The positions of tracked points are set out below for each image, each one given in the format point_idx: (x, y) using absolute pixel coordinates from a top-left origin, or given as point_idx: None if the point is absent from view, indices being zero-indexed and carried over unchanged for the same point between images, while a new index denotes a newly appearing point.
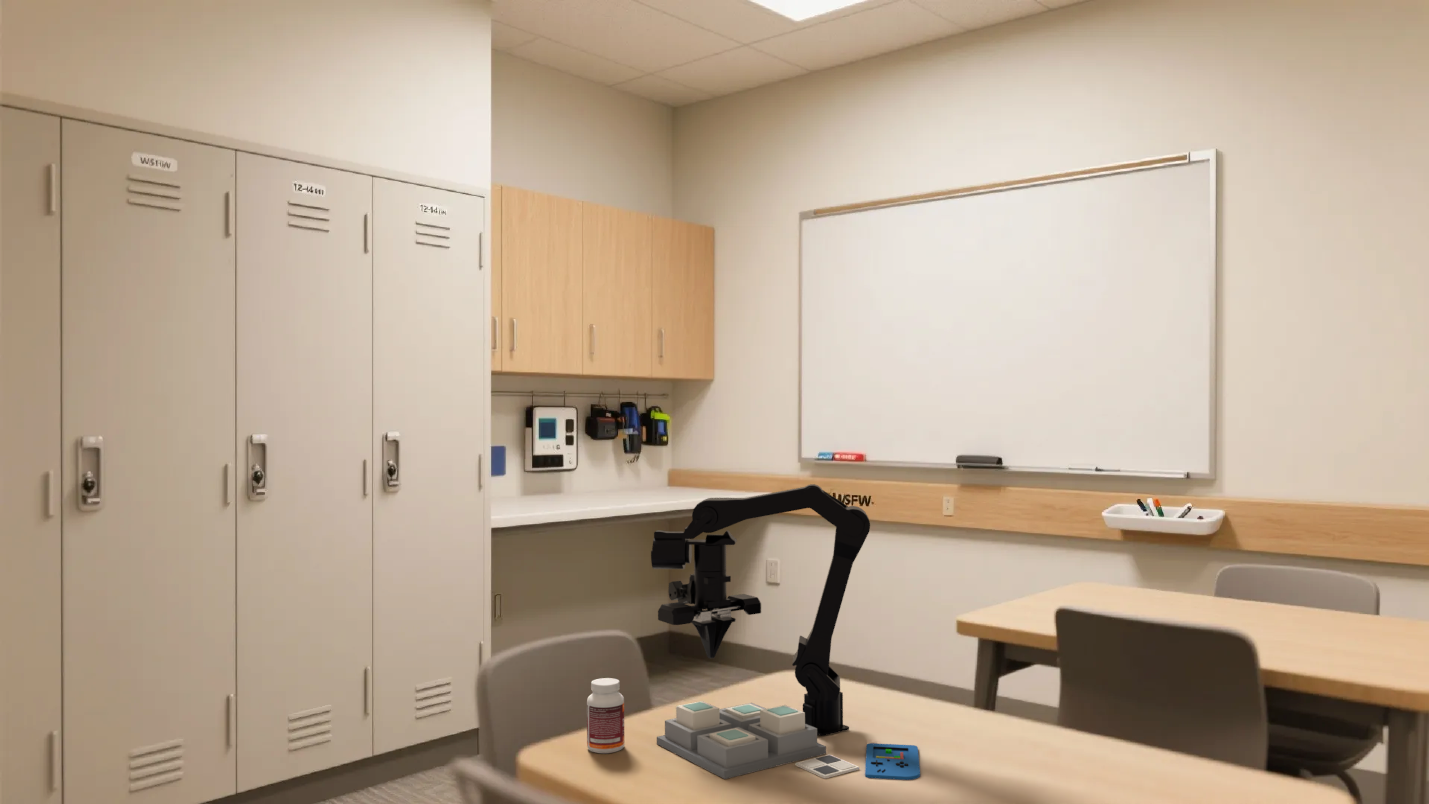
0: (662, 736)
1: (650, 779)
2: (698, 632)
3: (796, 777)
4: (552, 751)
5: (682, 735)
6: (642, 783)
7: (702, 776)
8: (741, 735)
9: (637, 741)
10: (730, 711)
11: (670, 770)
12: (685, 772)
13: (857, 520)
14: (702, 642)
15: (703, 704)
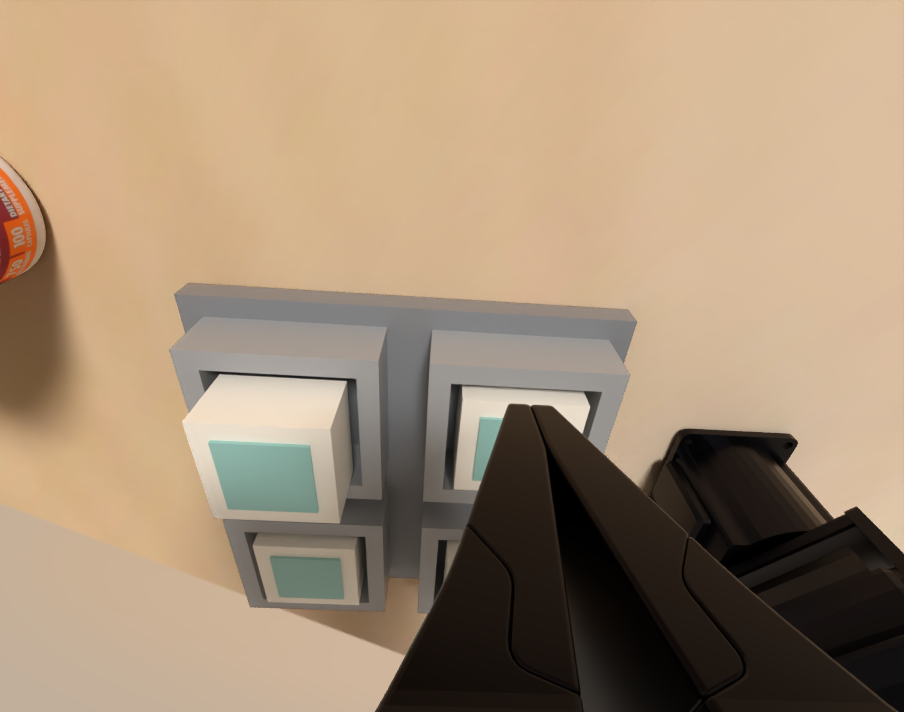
0: (197, 305)
1: (89, 483)
2: (421, 630)
3: (398, 604)
4: None
5: None
6: (62, 490)
7: (221, 525)
8: (325, 594)
9: (122, 208)
10: (460, 425)
11: (158, 468)
12: (191, 493)
13: None
14: (474, 502)
15: (300, 476)
